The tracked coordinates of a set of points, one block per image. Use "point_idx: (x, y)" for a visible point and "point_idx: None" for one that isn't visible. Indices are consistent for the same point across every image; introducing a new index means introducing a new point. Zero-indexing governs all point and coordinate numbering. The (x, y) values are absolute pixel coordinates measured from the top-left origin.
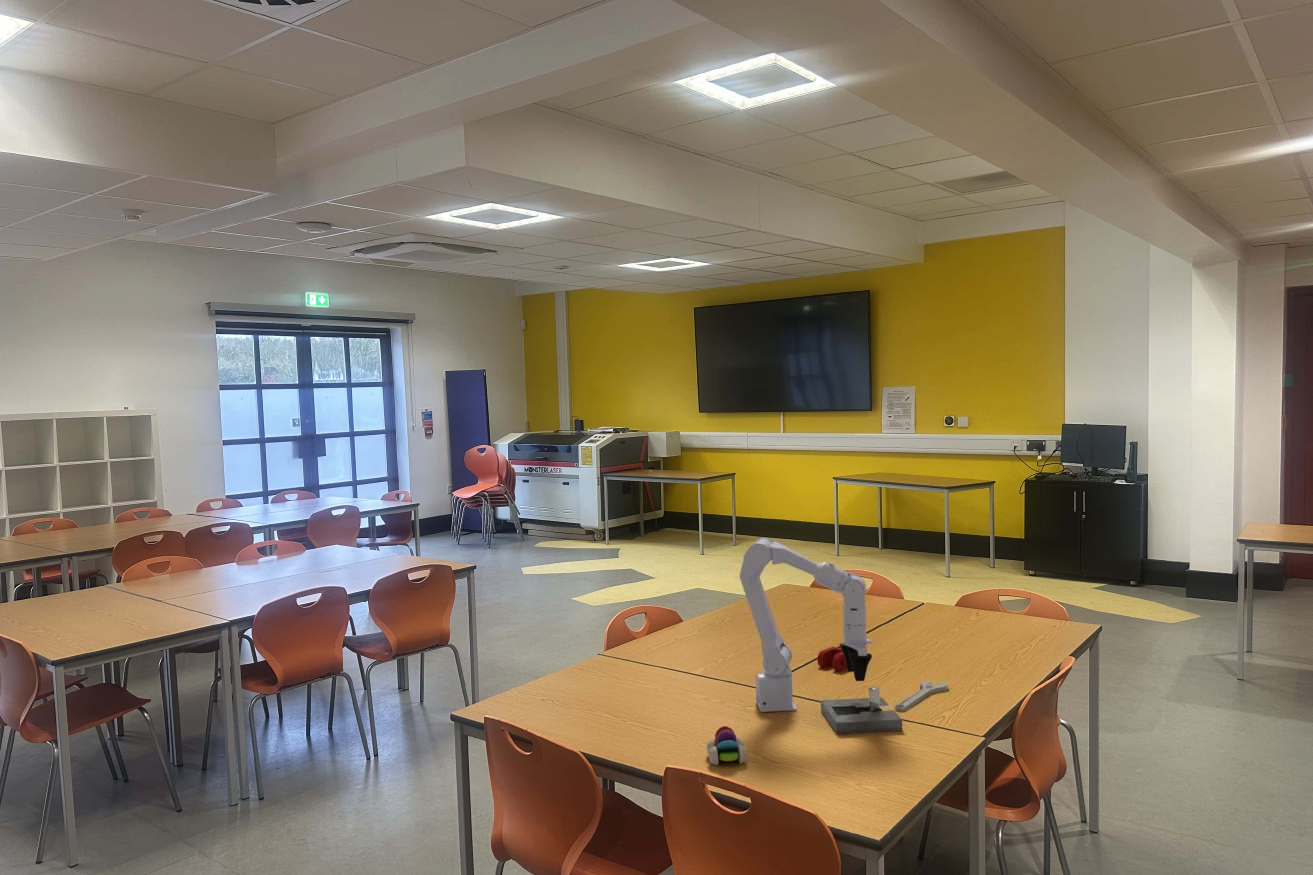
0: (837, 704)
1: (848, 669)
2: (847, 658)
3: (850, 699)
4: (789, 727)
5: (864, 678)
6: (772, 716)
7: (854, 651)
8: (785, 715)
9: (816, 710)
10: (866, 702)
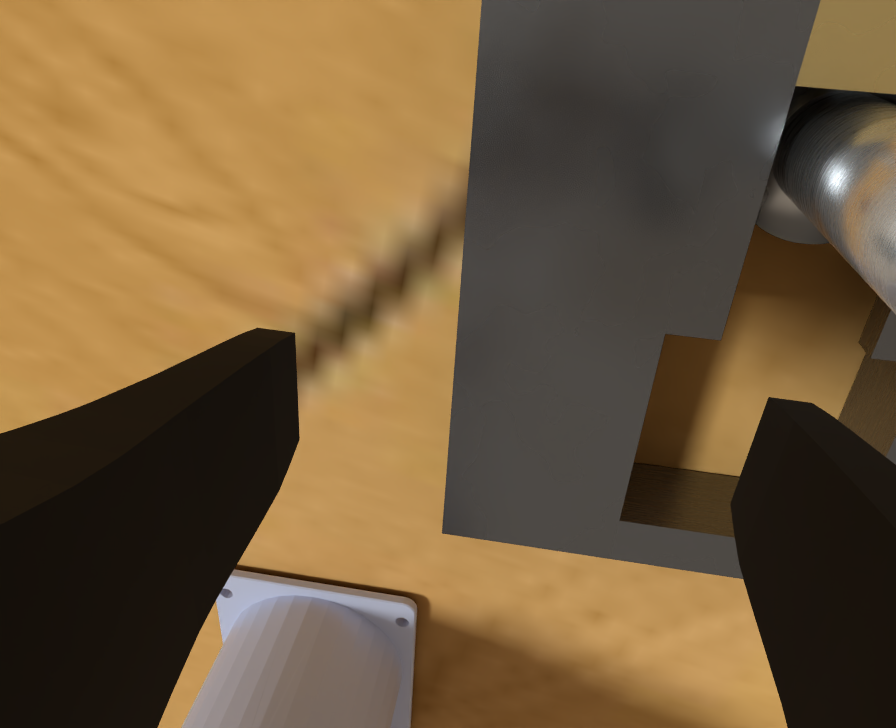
0: (580, 458)
1: (286, 459)
2: (193, 604)
3: (475, 302)
4: (689, 711)
5: (833, 420)
6: (482, 717)
7: (80, 615)
8: (483, 666)
9: (434, 494)
10: (618, 178)
